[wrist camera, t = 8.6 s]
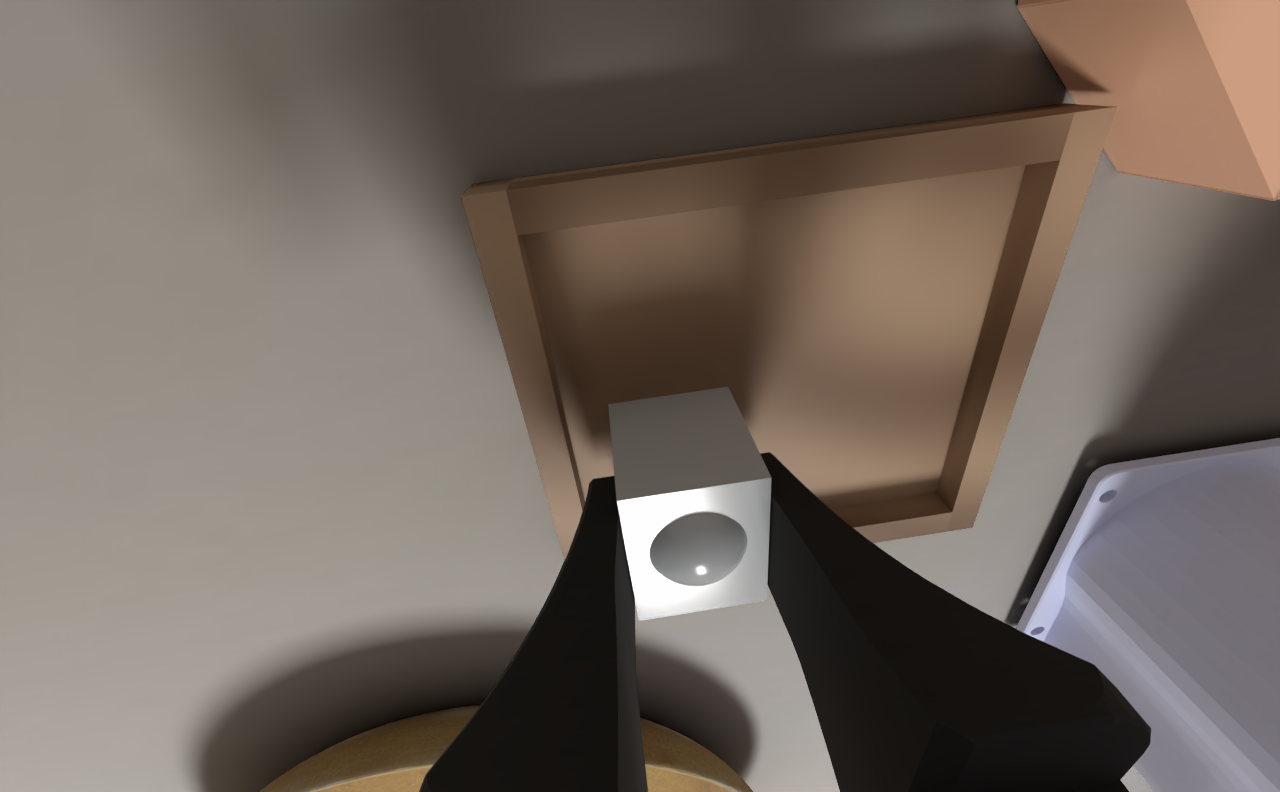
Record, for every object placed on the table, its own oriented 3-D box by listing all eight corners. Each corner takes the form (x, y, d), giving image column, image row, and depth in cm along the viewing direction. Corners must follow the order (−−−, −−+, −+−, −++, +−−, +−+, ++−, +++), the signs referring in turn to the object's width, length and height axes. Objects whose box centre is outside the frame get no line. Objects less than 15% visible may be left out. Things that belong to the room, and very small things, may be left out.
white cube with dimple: (730, 498, 15) (775, 623, 11) (627, 514, 15) (641, 645, 11) (727, 386, 13) (781, 499, 9) (608, 404, 13) (618, 524, 9)
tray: (948, 499, 16) (972, 527, 15) (573, 557, 16) (573, 589, 15) (1065, 103, 10) (1117, 106, 9) (472, 184, 10) (461, 196, 9)
